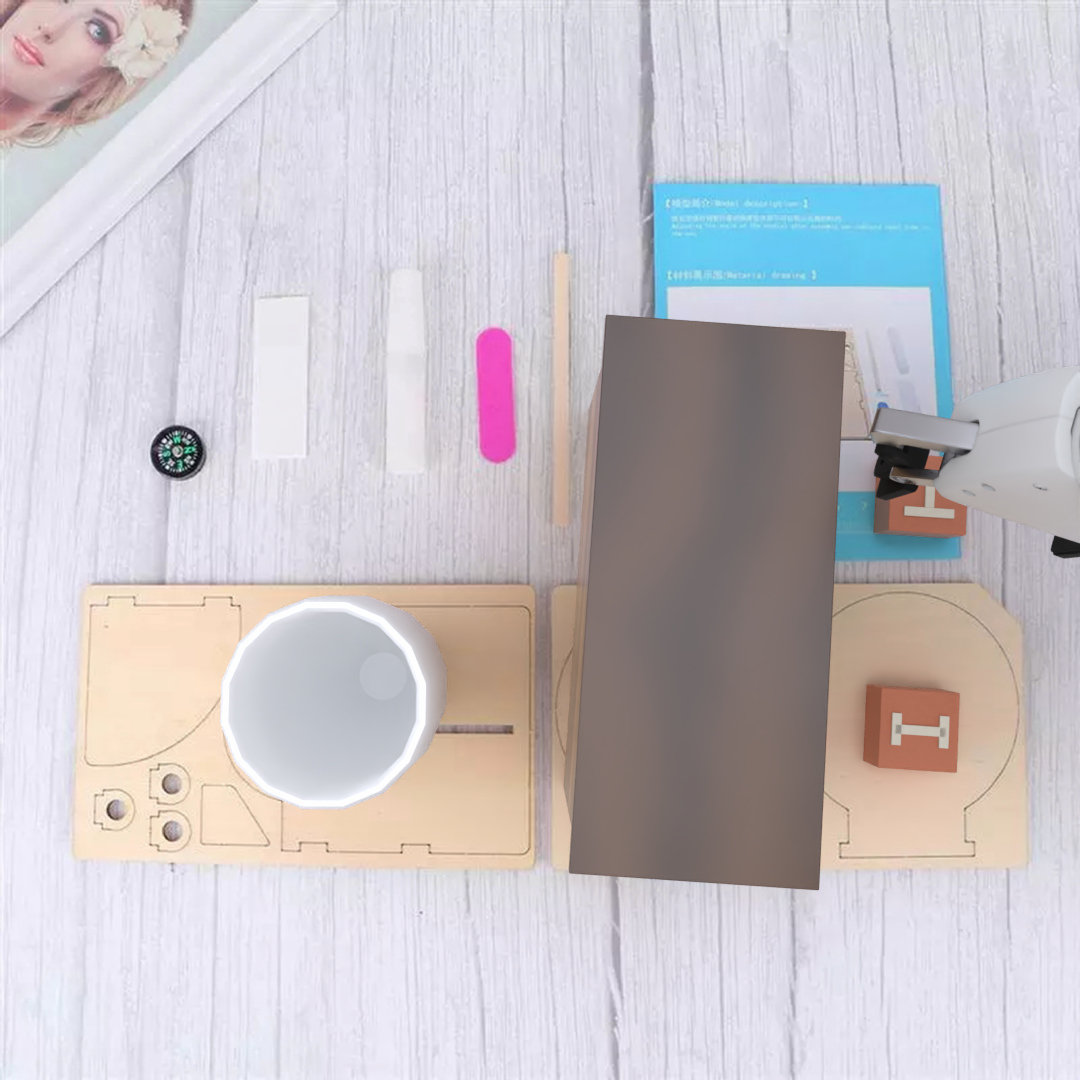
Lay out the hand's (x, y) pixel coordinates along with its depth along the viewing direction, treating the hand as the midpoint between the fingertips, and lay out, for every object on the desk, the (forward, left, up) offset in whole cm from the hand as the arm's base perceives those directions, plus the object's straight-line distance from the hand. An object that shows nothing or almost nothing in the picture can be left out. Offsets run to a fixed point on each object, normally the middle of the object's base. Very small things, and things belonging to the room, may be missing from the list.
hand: (975, 500), depth 51 cm
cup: (+32, +12, -15) cm, 38 cm away
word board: (+15, +6, +7) cm, 18 cm away
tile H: (-2, -2, -15) cm, 15 cm away
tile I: (-2, +13, -15) cm, 20 cm away
